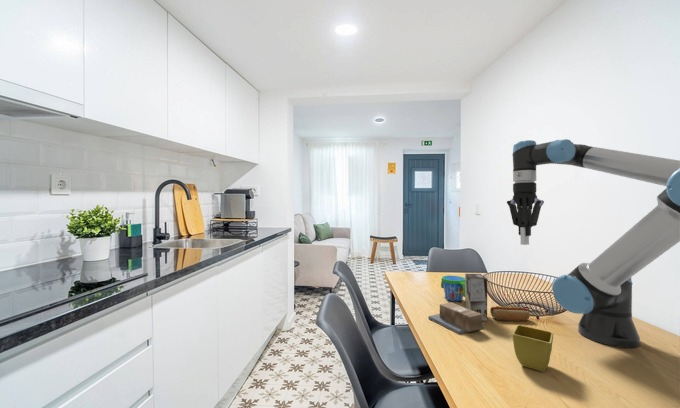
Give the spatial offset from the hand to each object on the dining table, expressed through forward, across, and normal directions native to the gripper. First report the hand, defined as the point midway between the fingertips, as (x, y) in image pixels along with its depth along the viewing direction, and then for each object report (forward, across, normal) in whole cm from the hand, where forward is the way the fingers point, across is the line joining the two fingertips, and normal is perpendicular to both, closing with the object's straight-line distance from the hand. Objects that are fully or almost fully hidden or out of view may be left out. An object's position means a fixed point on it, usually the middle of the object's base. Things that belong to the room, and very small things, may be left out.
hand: (524, 244), depth 111 cm
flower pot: (+30, +20, -28) cm, 45 cm away
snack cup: (+30, -31, -4) cm, 43 cm away
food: (+30, -4, -3) cm, 30 cm away
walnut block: (+26, -1, -25) cm, 36 cm away
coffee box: (+30, -12, -12) cm, 34 cm away
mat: (+29, -10, -25) cm, 40 cm away
